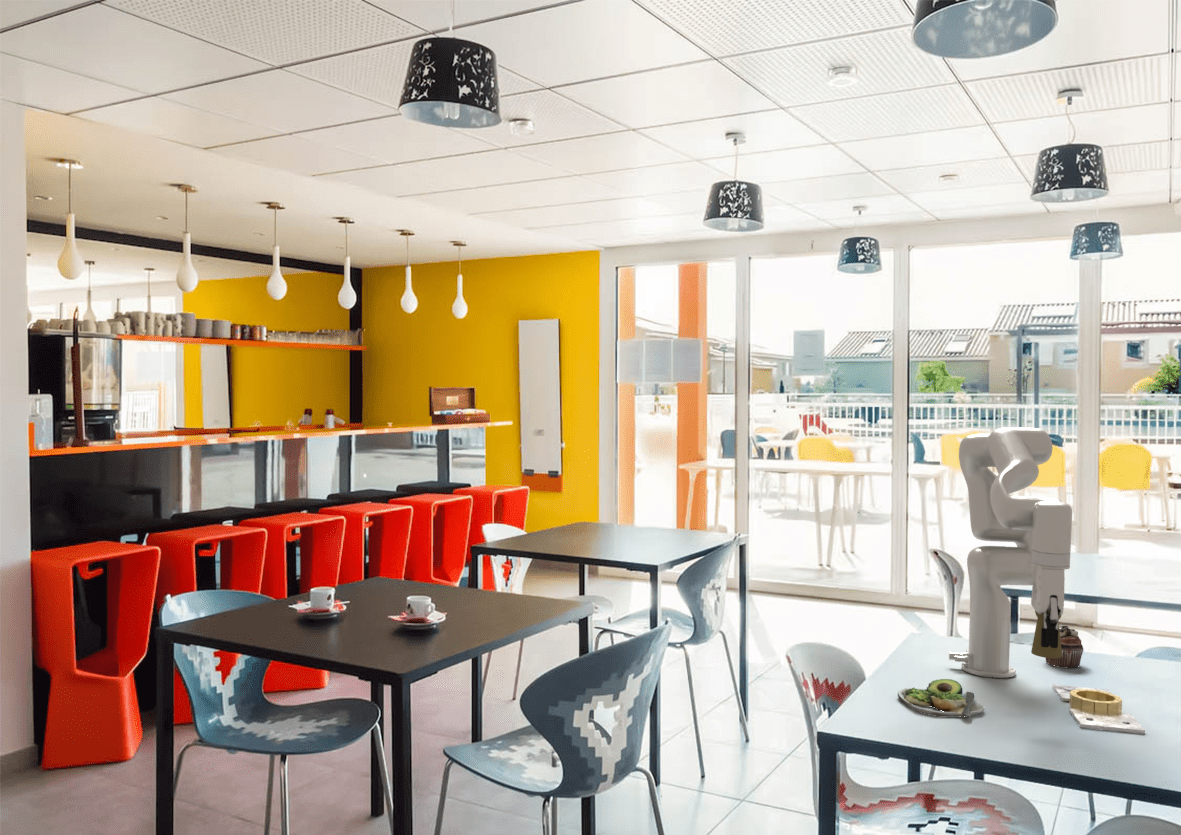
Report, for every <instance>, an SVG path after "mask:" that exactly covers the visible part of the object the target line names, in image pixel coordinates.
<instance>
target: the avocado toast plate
mask: <svg viewBox="0 0 1181 835" xmlns="http://www.w3.org/2000/svg"><path fill="white" fill-rule="evenodd" d="M897 698H898V699H899V700H900V702H902V703H903V704H905V705H906V706H907V705H908V707H909V708H911V709H912V708H913V710H914V709H915V710H914V711H916V710H917V712H918V711H919V713H920V712H922V713H921V714H924V713H925V714H924V715H928V714H930V715H929V716H932V715H936V716H935V717H939V716H961V717H960V718H967V717H966V716H968V717H971V716H974V715H977V714H979V713H982V712H983V711H985V706H984V705H983V704H982V703H980V702H979V701H977V700H975V693H974V692H970V691H966V692H965V691H964V692H963V686H962V684H961V683H960V682H958V681H957V680H954V679H952V678H951V679H950V678H941V679H936V680H932V681H931V682H929V683H928V686H926V688H925V689H924V688H915V687H912V688H903V689H900V690H898V691H897ZM912 704H915V705H912ZM918 705H921V706H918ZM925 706H932V707H935V708H937V709H938V710H942V711H944V712H942V711H938V710H937V709H936V710H934V709H933V710H932V709H927V708H925ZM932 707H931V708H932ZM964 716H965V717H964Z"/></svg>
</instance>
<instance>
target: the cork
mask: <svg viewBox="0 0 1181 835" xmlns="http://www.w3.org/2000/svg"><path fill="white" fill-rule="evenodd" d="M1058 611H1060V609H1059V607H1058ZM1034 612H1035V616H1036V618H1037V619H1036V625H1035V630H1034V635H1033V641H1032V645H1031V651H1030V653H1031V654H1032V655H1034V656H1037V657H1039V658H1045V659H1046V658H1061V657H1062V650H1061V640H1060V630H1059V629H1060V627H1059V626H1060V622H1059V620H1060V619H1061V618H1062V615H1060V616H1059V615H1058V647H1057V648H1051V646H1049V647H1042V646H1041V628H1043V613H1042V614H1038V613H1037V612H1036V610H1035V609H1034ZM1046 614H1050V611H1046ZM1058 614H1059V613H1058ZM1048 618H1050V617H1047V619H1048Z"/></svg>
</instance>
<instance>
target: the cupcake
mask: <svg viewBox="0 0 1181 835" xmlns="http://www.w3.org/2000/svg"><path fill="white" fill-rule="evenodd" d="M1059 630H1060V640H1061V650H1062V657H1061V658H1045V662H1047V663H1049V664H1048V665H1050V664H1052V665H1055V666H1054V667H1056V666H1059V667H1058V668H1061V667H1067V668H1066V669H1075V668H1074V667H1078V666H1079V667H1080V666H1081V661H1082V660H1081V659H1082V656H1083V653H1084V646H1083V644H1082V639H1081V638H1080V636H1079V631H1078V630H1075V629H1074V628H1069V626H1068V625H1062V626H1060V625H1059ZM1047 663H1046V664H1047ZM1052 665H1051V666H1052ZM1079 667H1078V668H1079Z"/></svg>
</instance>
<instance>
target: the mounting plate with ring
mask: <svg viewBox="0 0 1181 835" xmlns="http://www.w3.org/2000/svg"><path fill="white" fill-rule="evenodd" d="M1051 688H1052V689H1054V690H1053V691H1054V693H1055V694H1056V693H1057V694H1056V695H1057V696H1059V697H1060V698H1059V697H1058V698H1059V699H1060V701H1061V700H1062V701H1061V702H1063V701H1069V702H1068V704H1069V705H1070V706H1071V707H1070V706H1069V713H1070V715H1071V714H1072V715H1071V716H1072V717H1074V718H1073V719H1074V720H1075V722H1076V721H1077V722H1076V724H1077V725H1078V724H1079V725H1080V726H1079V725H1078V726H1079V727H1080V728H1081V727H1082V728H1081V729H1087V728H1092V729H1091V730H1096V729H1102V730H1101V731H1106V730H1109V731H1108V732H1116V731H1118V733H1126V732H1127V734H1137V735H1146V730H1145V729H1144V727H1143V726H1142V725H1141V724H1140V723H1139V722H1138V721H1137V720H1136V718H1135V717H1134V716H1133V715H1132V714H1130V713H1123V712H1122V711H1123V699H1122V697H1120V696H1119V695H1116V694H1113V693H1111V691H1110V690H1109V689H1106V688H1105V689H1104V688H1093V687H1084V686H1083V687H1081V686H1073V685H1072V686H1071V685H1061V684H1052V687H1051Z"/></svg>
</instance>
